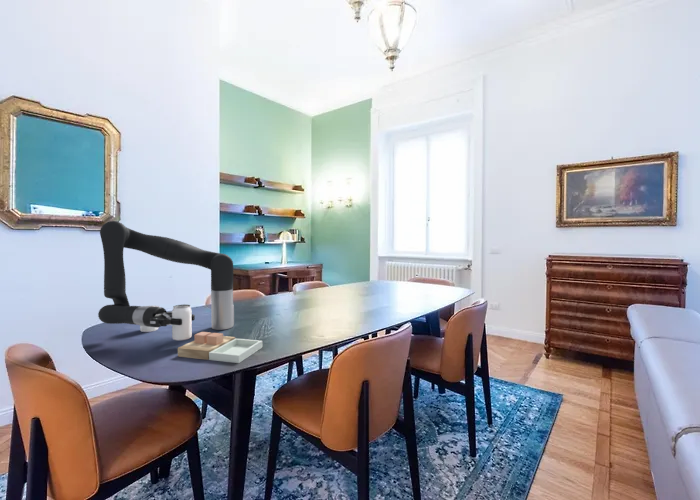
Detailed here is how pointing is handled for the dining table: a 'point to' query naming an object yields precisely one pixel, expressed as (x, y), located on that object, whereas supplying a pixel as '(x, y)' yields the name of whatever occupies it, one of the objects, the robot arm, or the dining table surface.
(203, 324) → the dining table surface
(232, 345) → the tray
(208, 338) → the tile
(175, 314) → the can
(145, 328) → the white cup
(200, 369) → the dining table surface
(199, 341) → the tile
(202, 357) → the board
